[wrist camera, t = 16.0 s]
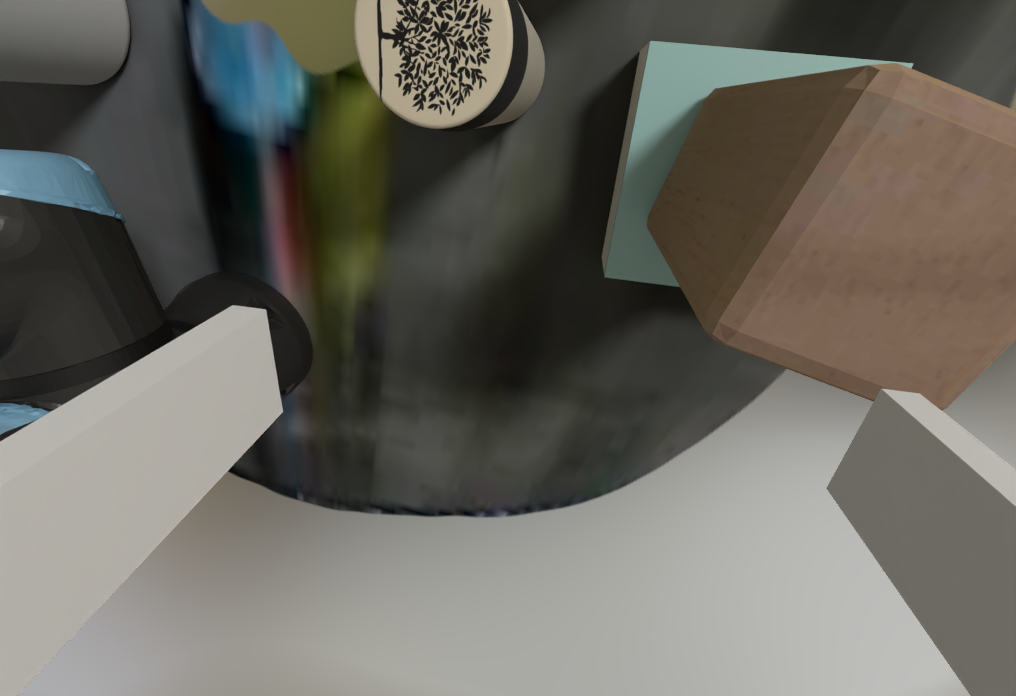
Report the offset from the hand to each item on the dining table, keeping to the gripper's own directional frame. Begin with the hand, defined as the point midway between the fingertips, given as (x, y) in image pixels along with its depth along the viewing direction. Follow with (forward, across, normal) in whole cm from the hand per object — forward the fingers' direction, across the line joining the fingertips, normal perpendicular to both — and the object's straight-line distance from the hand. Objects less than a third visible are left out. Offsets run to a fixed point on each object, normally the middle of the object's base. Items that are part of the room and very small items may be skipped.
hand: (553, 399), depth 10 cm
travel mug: (+34, -6, +8) cm, 36 cm away
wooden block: (+28, +12, +2) cm, 30 cm away
